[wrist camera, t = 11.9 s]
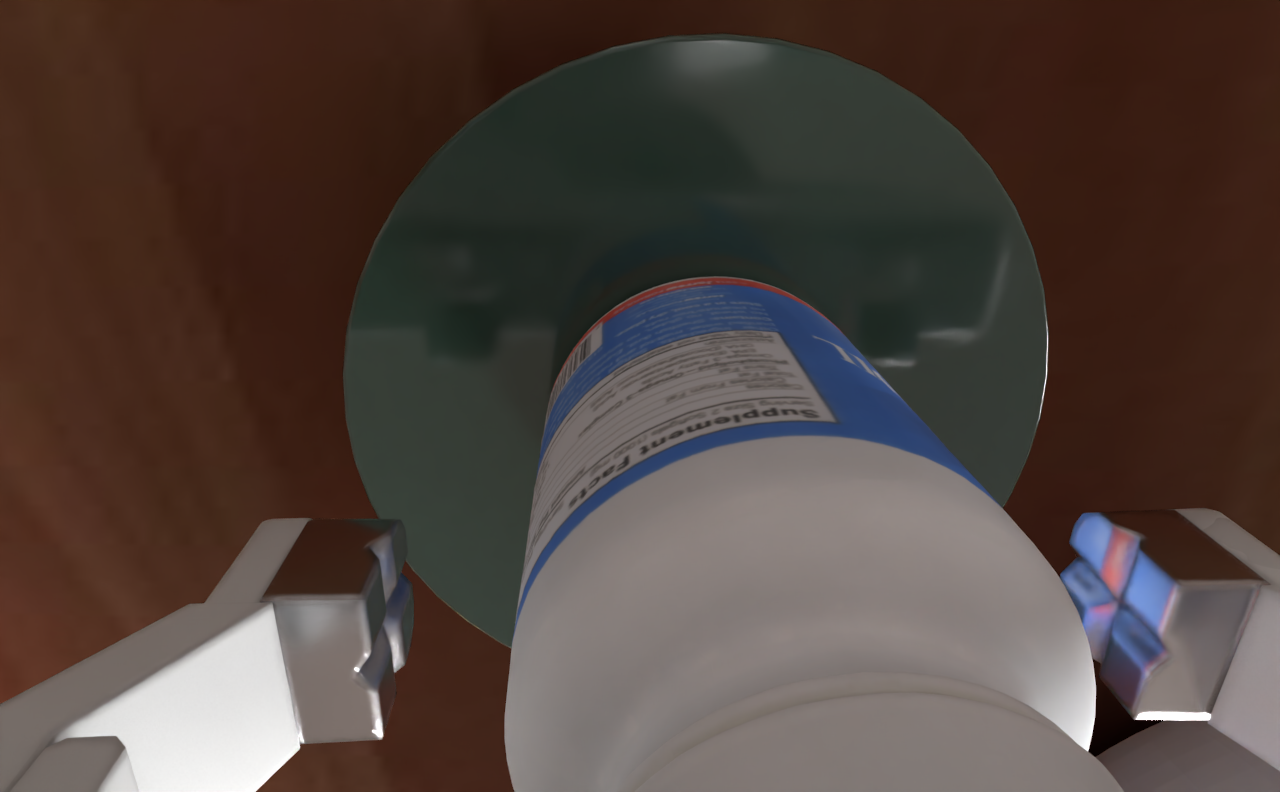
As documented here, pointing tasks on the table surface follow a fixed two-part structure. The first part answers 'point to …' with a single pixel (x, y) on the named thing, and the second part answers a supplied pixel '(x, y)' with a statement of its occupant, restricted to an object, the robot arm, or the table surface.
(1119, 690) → the robot arm
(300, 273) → the table surface
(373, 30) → the table surface
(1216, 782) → the bowl
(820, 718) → the pill bottle
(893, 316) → the stand
